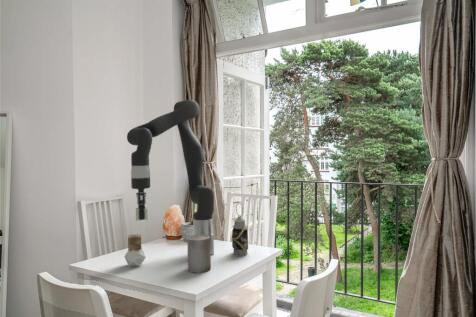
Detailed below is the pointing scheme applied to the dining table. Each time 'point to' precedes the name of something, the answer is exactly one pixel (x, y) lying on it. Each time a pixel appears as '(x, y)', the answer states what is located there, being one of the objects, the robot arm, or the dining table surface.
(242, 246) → the lantern
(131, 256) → the die
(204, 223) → the robot arm
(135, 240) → the walnut block
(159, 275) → the dining table surface
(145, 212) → the green block
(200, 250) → the grey upright cylinder
